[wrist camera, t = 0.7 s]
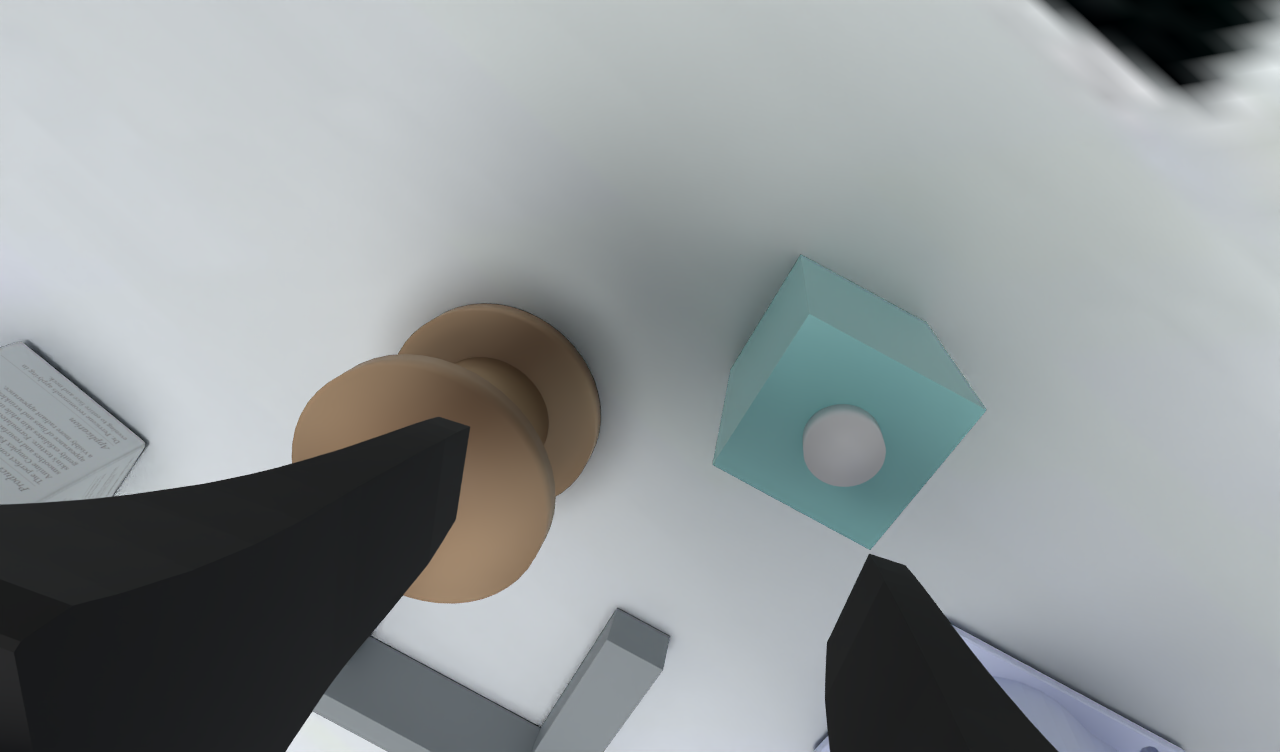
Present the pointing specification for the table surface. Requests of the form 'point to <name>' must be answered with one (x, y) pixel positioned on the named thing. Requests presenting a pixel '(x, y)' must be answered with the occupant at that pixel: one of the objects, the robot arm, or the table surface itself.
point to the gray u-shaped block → (479, 729)
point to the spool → (475, 433)
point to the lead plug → (841, 405)
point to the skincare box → (56, 435)
